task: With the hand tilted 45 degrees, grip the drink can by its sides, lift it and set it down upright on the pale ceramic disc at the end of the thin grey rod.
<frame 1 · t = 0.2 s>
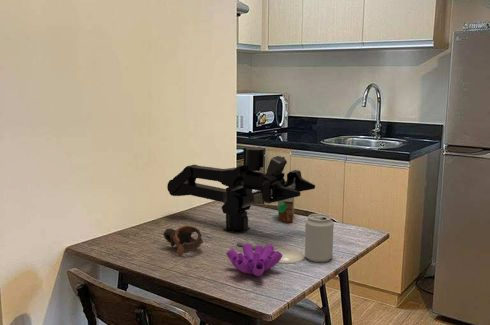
hand: (307, 190, 143), 17 cm above the table, tool horizontal, fingers open, 9 cm apart
thin grey rod: (253, 249, 142), on the table
can: (318, 259, 135), on the table
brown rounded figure: (183, 251, 142), on the table
disc: (285, 256, 136), on the table
food container: (284, 219, 172), on the table
purple tube coral sculpture: (254, 272, 126), on the table
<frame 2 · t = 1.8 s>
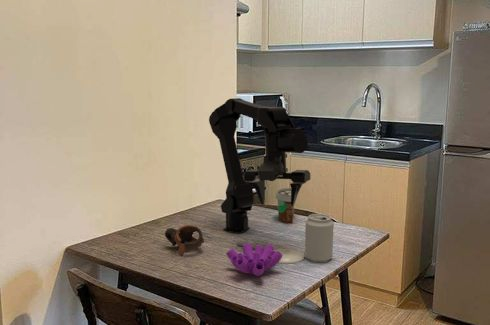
hand: (277, 205, 142), 12 cm above the table, tool pointing down, fingers open, 9 cm apart
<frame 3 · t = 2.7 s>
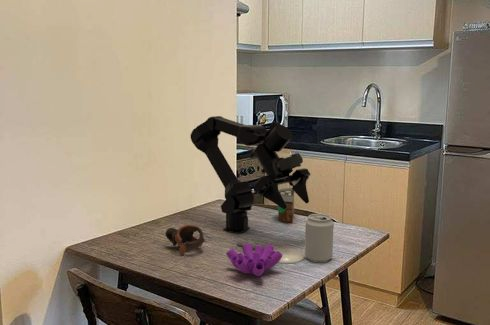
hand: (297, 205, 139), 13 cm above the table, tool tilted 45°, fingers open, 9 cm apart
nothing on the table moved.
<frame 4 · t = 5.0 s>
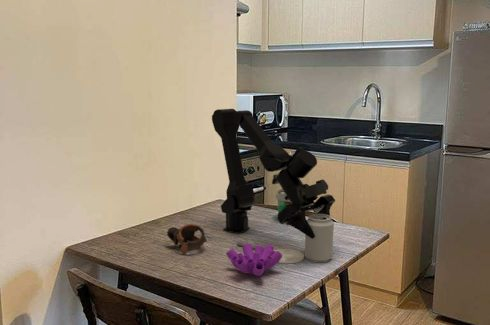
hand: (323, 234, 133), 7 cm above the table, tool tilted 45°, fingers closed on can, 7 cm apart
can: (318, 259, 135), on the table, touching gripper
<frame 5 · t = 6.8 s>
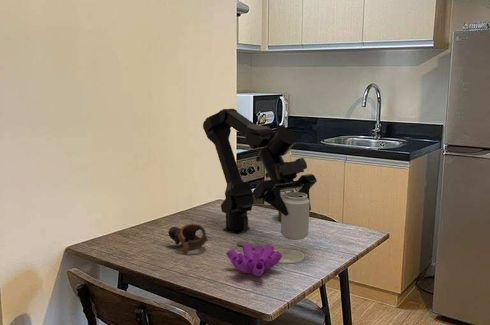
hand: (298, 212, 133), 13 cm above the table, tool tilted 45°, fingers closed on can, 7 cm apart
can: (294, 237, 135), point 6 cm above the table, touching gripper
when the fingers open (8 cm above the table, at t = 8.5 s): can stays where it is, resting on disc.
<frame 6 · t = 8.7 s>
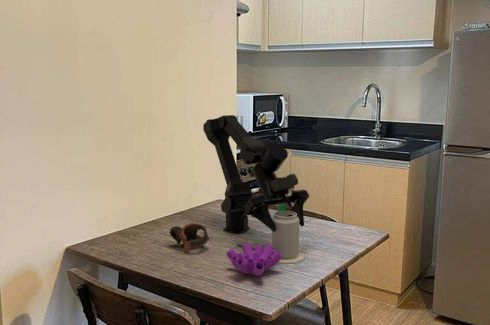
hand: (289, 228, 134), 9 cm above the table, tool tilted 45°, fingers open, 9 cm apart
can: (285, 255, 137), resting on disc
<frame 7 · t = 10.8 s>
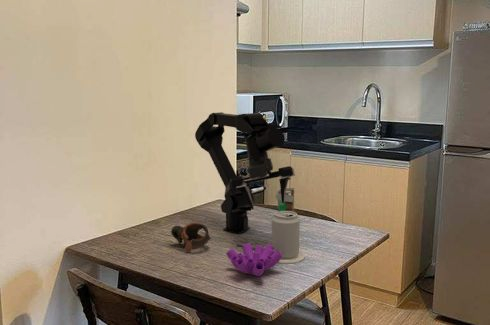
hand: (268, 206, 145), 12 cm above the table, tool tilted 20°, fingers open, 9 cm apart
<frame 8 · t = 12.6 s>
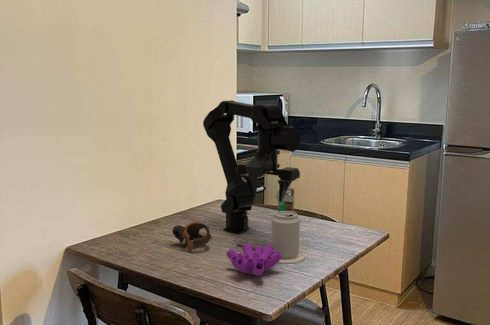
hand: (267, 199, 147), 13 cm above the table, tool pointing down, fingers open, 9 cm apart
at the end: can 0.2 cm from the disc (horizontally); can tilted 0°; the gripper is holding nothing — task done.
